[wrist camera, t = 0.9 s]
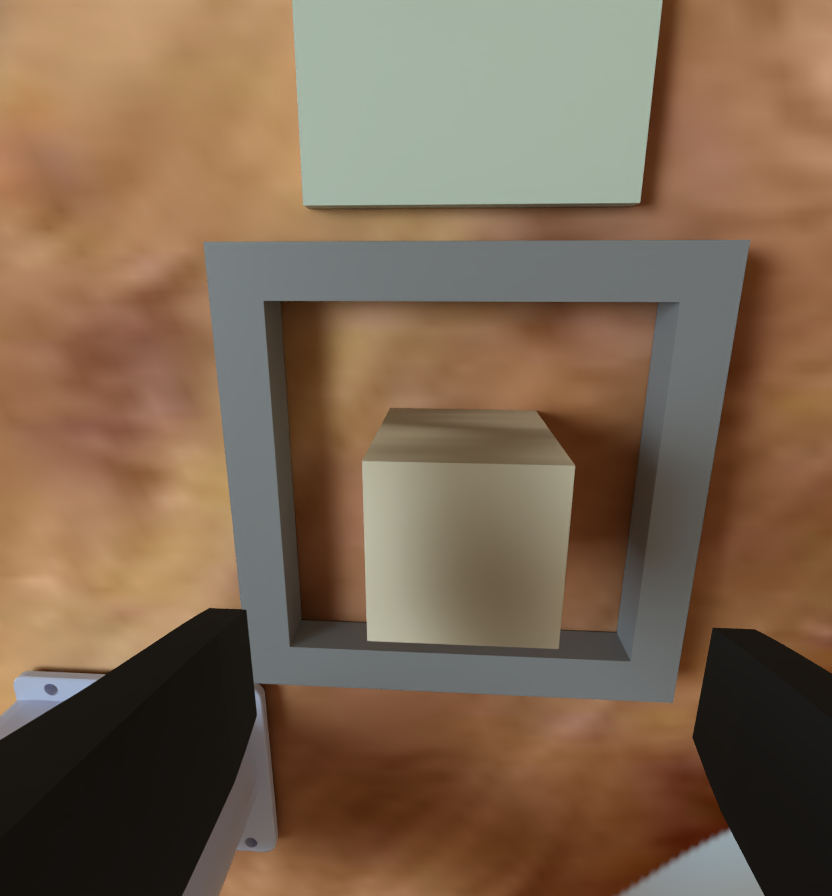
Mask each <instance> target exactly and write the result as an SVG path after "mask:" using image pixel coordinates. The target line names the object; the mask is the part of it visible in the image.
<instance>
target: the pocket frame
mask: <svg viewBox="0 0 832 896" xmlns="http://www.w3.org/2000/svg"><path fill="white" fill-rule="evenodd" d="M749 244H750V240H603V241H338V242H204V252H205V262H206V271H207V281H208V291H209V300H210V310H211V320H212V329H213V339H214V349H215V358H216V368H217V378H218V387H219V397H220V407H221V416H222V426H223V436H224V445H225V455H226V465H227V474H228V484H229V494H230V503H231V513H232V522H233V532H234V542H235V551H236V561H237V571H238V580H239V590H240V600H241V609H242V610H247V620H248V630H249V640H250V650H251V660H252V670H253V680H254V683H261V684H282V685H304V686H325V687H346V688H368V689H389V690H410V691H431V692H453V693H474V694H495V695H517V696H538V697H559V698H580V699H602V700H623V701H644V702H666V703H673V699H674V693H675V687H676V681H677V675H678V669H679V663H680V657H681V651H682V645H683V639H684V633H685V627H686V621H687V615H688V609H689V603H690V597H691V591H692V585H693V579H694V573H695V567H696V561H697V555H698V549H699V543H700V537H701V531H702V525H703V519H704V513H705V507H706V502H707V496H708V490H709V484H710V478H711V472H712V466H713V460H714V454H715V448H716V442H717V436H718V430H719V424H720V418H721V412H722V406H723V400H724V394H725V388H726V382H727V376H728V370H729V364H730V358H731V352H732V346H733V340H734V334H735V328H736V322H737V316H738V310H739V304H740V298H741V292H742V286H743V280H744V274H745V268H746V262H747V256H748V250H749ZM280 301H477V302H658V307H657V315H656V323H655V331H654V339H653V347H652V355H651V363H650V371H649V379H648V387H647V395H646V403H645V411H644V419H643V427H642V435H641V443H640V451H639V459H638V467H637V475H636V483H635V491H634V499H633V507H632V515H631V523H630V530H629V538H628V546H627V554H626V562H625V570H624V578H623V586H622V594H621V602H620V610H619V618H618V626H617V633H615V632H589V631H564V630H560V640H559V649H547V648H523V647H499V646H475V645H452V644H428V643H404V642H380V641H367V623H362V622H336V621H311V620H302V614H301V599H300V584H299V569H298V554H297V539H296V524H295V510H294V495H293V480H292V465H291V450H290V435H289V421H288V406H287V391H286V376H285V361H284V346H283V331H282V317H281V302H280Z"/></svg>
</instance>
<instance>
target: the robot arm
mask: <svg viewBox="0 0 832 896" xmlns="http://www.w3.org/2000/svg"><path fill="white" fill-rule="evenodd" d="M54 685H55V686H54ZM14 690H15V694H16V698H17V701H16V702H15V703H14V704H13V705H12V706H11V707H10V708H9V709H8V710H7V711H5V712H4V713H3V714H2V715H1V716H0V896H219V894H220V891H221V889H222V886H223V884H224V881H225V878H226V876H227V873H228V871H229V868H230V865H231V863H232V860H233V858H234V855H235V852H236V850H243V851H258V852H269V851H271V850H273V849H274V848H275V846H276V843H277V840H278V827H277V816H276V806H275V795H274V784H273V774H272V763H271V752H270V742H269V731H268V721H267V710H266V699H265V692H264V689H263V687H262V686H261V685H260V684H258V683H254V680H253V670H252V660H251V650H250V640H249V630H248V620H247V610H242V609H216V608H209V609H207V610H205V611H204V612H202V613H200V614H198V615H197V616H195V617H193V618H192V619H190V620H189V621H187V622H185V623H184V624H182V625H181V626H179V627H178V628H176V629H174V630H173V631H171V632H170V633H168V634H167V635H165V636H164V637H162V638H161V639H159V640H158V641H156V642H155V643H153V644H152V645H150V646H149V647H147V648H146V649H144V650H143V651H141V652H140V653H138V654H137V655H135V656H133V657H132V658H130V659H129V660H127V661H126V662H124V663H123V664H121V665H120V666H118V667H117V668H115V669H114V670H112V671H110V672H109V673H107V674H88V673H67V672H45V671H25V672H23V673H22V674H21V675H20V676H18V677H17V678H16V679H15V681H14ZM693 740H694V743H695V745H696V748H697V751H698V754H699V756H700V759H701V762H702V764H703V767H704V770H705V772H706V775H707V778H708V780H709V783H710V785H711V788H712V790H713V793H714V795H715V798H716V800H717V803H718V805H719V807H720V810H721V812H722V814H723V816H724V818H725V820H726V822H727V824H728V826H729V828H730V830H731V832H732V834H733V836H734V838H735V840H736V841H737V843H738V845H739V847H740V849H741V851H742V853H743V855H744V857H745V859H746V861H747V863H748V865H749V867H750V869H751V870H752V872H753V874H754V876H755V878H756V880H757V882H758V884H759V886H760V887H761V889H762V891H763V893H764V895H765V896H832V674H831V673H830V672H828V671H826V670H825V669H823V668H821V667H820V666H818V665H817V664H815V663H813V662H812V661H810V660H808V659H807V658H805V657H803V656H802V655H800V654H798V653H797V652H795V651H793V650H791V649H790V648H788V647H786V646H785V645H783V644H781V643H779V642H778V641H776V640H774V639H772V638H770V637H768V636H767V635H765V634H763V633H761V632H759V631H757V630H755V629H729V628H713V630H712V635H711V640H710V646H709V651H708V657H707V662H706V667H705V673H704V678H703V684H702V689H701V695H700V700H699V705H698V711H697V716H696V722H695V727H694V733H693Z"/></svg>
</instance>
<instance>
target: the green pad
mask: <svg viewBox="0 0 832 896" xmlns="http://www.w3.org/2000/svg"><path fill="white" fill-rule="evenodd" d="M662 1H663V0H292V4H293V23H294V42H295V61H296V79H297V98H298V117H299V136H300V155H301V173H302V192H303V206H305V207H307V208H308V209H354V208H487V207H620V206H635V205H637V204H639V203H640V200H641V191H642V182H643V173H644V164H645V155H646V146H647V137H648V128H649V119H650V110H651V101H652V92H653V83H654V74H655V65H656V56H657V47H658V38H659V28H660V19H661V10H662Z"/></svg>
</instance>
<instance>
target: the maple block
mask: <svg viewBox="0 0 832 896" xmlns="http://www.w3.org/2000/svg"><path fill="white" fill-rule="evenodd" d="M362 470H363V506H364V542H365V578H366V615H367V641H380V642H404V643H428V644H452V645H475V646H499V647H523V648H547V649H559V640H560V629H561V618H562V607H563V596H564V585H565V574H566V563H567V552H568V541H569V530H570V519H571V508H572V496H573V485H574V474H575V465H574V463H573V462H572V460H571V459H570V458H569V456H568V455H567V453H566V452H565V451H564V449H563V448H562V446H561V445H560V444H559V442H558V441H557V439H556V438H555V437H554V435H553V434H552V432H551V431H550V430H549V428H548V427H547V425H546V424H545V423H544V421H543V420H542V418H541V417H540V416H539V414H538V413H537V411H536V410H480V409H414V408H390V409H389V411H388V413H387V415H386V417H385V419H384V421H383V423H382V425H381V427H380V428H379V430H378V432H377V434H376V436H375V438H374V440H373V442H372V444H371V445H370V447H369V449H368V451H367V453H366V455H365V457H364V459H363V461H362Z"/></svg>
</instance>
